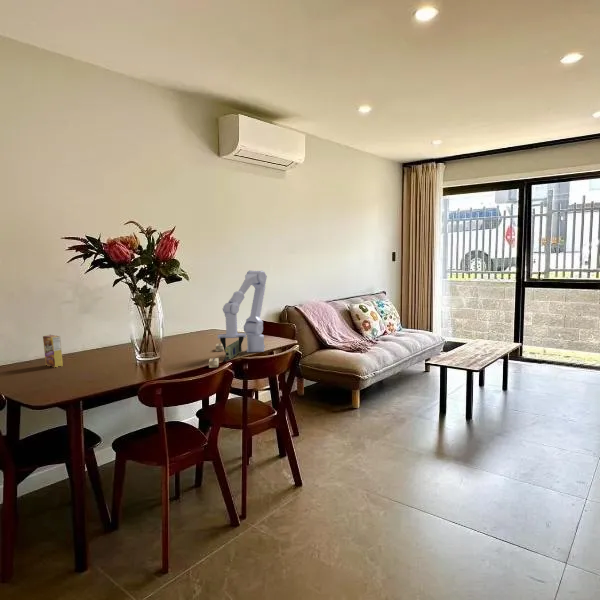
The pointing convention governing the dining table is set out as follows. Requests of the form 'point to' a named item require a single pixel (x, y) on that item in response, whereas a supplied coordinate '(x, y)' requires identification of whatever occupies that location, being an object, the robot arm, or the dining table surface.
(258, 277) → the robot arm
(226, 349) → the handheld radio
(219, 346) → the taped cardboard parcel
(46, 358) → the candy box
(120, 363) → the dining table surface
